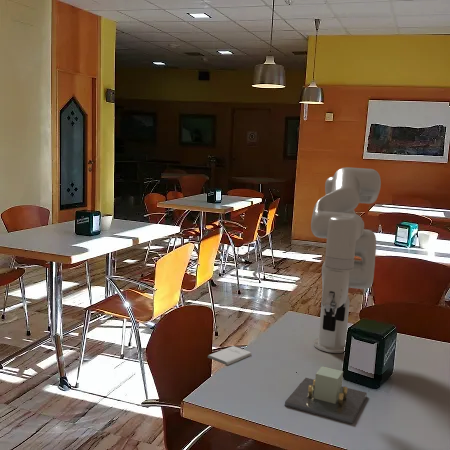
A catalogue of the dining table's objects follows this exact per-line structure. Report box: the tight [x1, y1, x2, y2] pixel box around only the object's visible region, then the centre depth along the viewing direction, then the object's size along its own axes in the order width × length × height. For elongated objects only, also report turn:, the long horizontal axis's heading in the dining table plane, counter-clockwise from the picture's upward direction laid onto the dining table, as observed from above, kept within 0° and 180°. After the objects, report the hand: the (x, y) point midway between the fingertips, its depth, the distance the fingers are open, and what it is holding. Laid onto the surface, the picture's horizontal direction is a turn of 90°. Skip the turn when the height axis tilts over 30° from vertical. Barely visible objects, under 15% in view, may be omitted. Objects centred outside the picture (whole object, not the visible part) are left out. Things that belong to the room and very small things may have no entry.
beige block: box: [314, 365, 344, 404], centre depth 147 cm, size 6×6×7 cm
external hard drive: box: [207, 345, 252, 366], centre depth 176 cm, size 2×8×12 cm
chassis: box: [284, 377, 368, 425], centre depth 148 cm, size 18×18×4 cm
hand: (333, 325), depth 145 cm, fingers open, 9 cm apart
